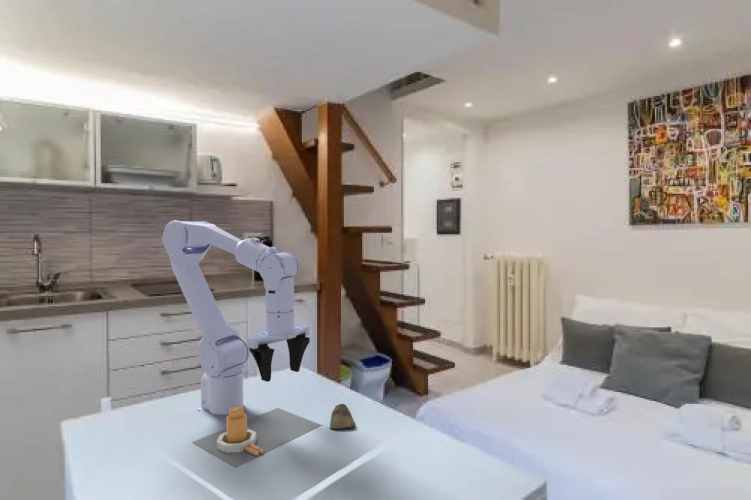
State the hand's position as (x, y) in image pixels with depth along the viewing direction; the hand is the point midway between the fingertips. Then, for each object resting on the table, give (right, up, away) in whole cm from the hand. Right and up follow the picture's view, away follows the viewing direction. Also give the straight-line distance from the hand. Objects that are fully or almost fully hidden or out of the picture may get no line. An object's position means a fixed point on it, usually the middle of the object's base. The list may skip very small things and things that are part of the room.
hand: (280, 375), depth 90 cm
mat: (-3, -10, -6) cm, 12 cm away
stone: (+13, -10, +1) cm, 17 cm away
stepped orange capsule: (-6, -10, -10) cm, 15 cm away
